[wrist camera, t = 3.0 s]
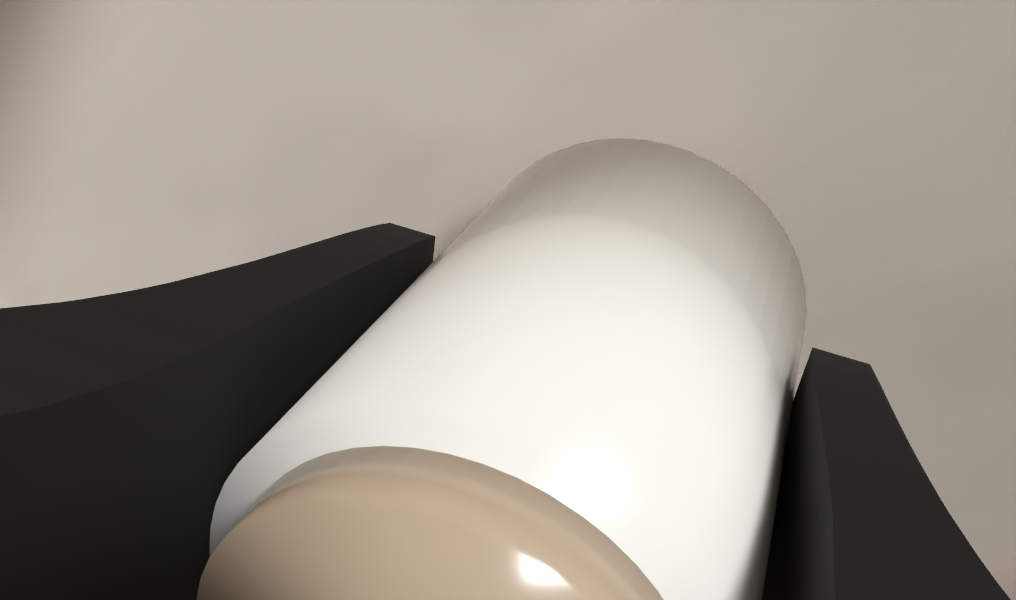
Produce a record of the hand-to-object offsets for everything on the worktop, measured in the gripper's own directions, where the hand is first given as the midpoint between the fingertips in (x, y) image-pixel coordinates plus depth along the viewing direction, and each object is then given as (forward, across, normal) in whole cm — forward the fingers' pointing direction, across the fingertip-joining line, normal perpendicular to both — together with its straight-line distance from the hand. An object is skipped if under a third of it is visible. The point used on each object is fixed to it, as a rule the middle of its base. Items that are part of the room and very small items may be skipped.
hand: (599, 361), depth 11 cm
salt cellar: (+2, 0, 0) cm, 2 cm away
